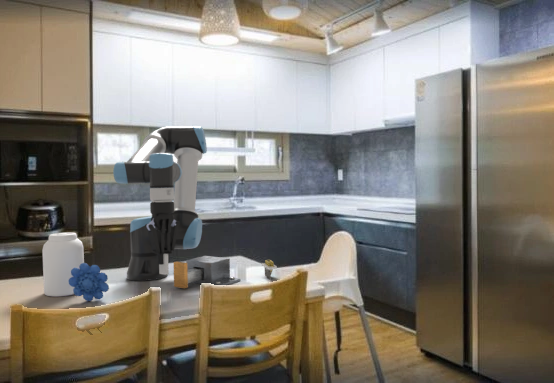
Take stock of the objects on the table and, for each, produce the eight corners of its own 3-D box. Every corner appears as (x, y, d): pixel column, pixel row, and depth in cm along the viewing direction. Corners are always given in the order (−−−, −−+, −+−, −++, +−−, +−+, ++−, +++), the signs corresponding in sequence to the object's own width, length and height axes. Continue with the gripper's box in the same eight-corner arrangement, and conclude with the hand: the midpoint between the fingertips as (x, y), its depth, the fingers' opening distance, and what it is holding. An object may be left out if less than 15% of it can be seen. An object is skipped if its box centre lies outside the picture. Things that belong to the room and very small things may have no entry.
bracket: (176, 281, 163) (176, 259, 162) (199, 275, 173) (199, 254, 172) (218, 287, 152) (218, 264, 151) (240, 280, 162) (239, 258, 161)
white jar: (82, 295, 145) (80, 234, 145) (40, 298, 142) (37, 236, 141) (87, 286, 157) (85, 230, 157) (48, 289, 154) (46, 232, 153)
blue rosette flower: (66, 306, 133) (64, 266, 132) (70, 300, 139) (69, 262, 139) (107, 303, 135) (106, 264, 135) (110, 297, 142) (109, 260, 142)
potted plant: (278, 272, 176) (278, 256, 176) (292, 282, 159) (292, 264, 159) (248, 275, 173) (248, 258, 173) (260, 285, 156) (259, 267, 155)
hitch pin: (174, 286, 151) (173, 262, 151) (205, 277, 164) (204, 255, 164) (184, 288, 149) (184, 263, 148) (215, 279, 161) (214, 256, 161)
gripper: (154, 202, 136) (156, 278, 137) (185, 200, 147) (186, 271, 147) (138, 202, 140) (140, 276, 141) (169, 200, 151) (170, 269, 152)
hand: (164, 273), depth 144 cm, fingers closed
